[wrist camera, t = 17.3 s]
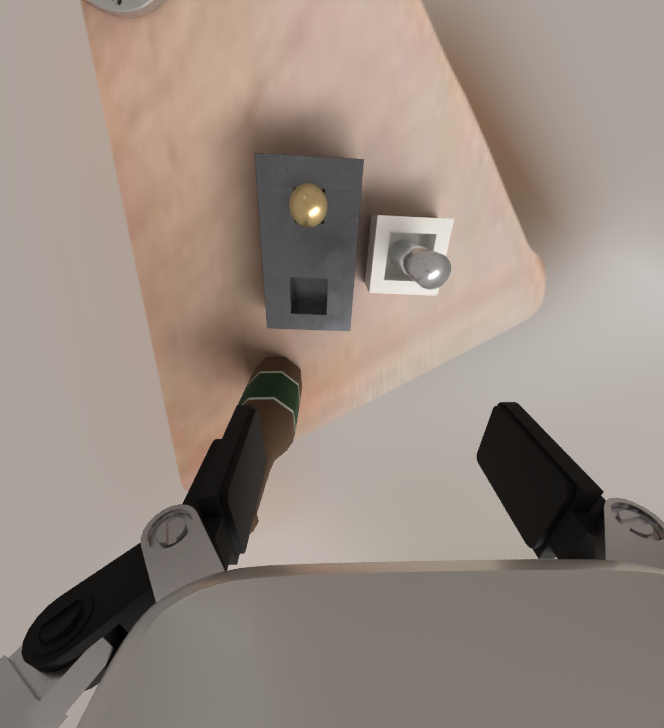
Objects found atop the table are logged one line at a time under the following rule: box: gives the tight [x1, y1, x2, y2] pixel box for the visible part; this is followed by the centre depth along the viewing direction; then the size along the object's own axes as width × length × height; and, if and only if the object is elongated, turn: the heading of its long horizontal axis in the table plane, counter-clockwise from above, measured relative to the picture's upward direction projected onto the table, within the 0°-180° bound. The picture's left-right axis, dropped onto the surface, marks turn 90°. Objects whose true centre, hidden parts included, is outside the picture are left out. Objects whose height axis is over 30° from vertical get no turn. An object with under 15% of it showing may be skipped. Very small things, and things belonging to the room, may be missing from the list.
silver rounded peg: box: [389, 240, 451, 289], centre depth 29 cm, size 3×3×12 cm
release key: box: [289, 183, 328, 227], centre depth 29 cm, size 4×4×6 cm
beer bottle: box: [238, 358, 302, 533], centre depth 33 cm, size 8×8×24 cm
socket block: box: [255, 153, 364, 331], centre depth 32 cm, size 17×10×6 cm, turn 177°
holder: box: [365, 215, 454, 295], centre depth 33 cm, size 8×8×5 cm
